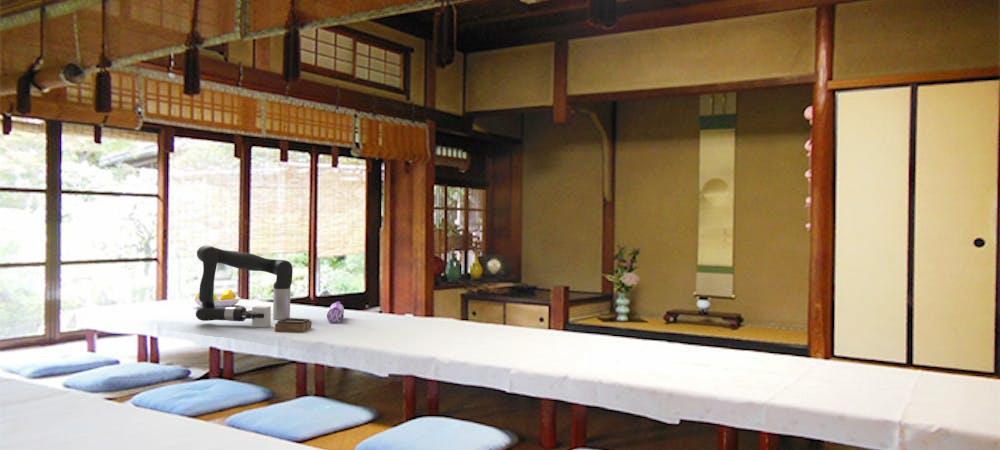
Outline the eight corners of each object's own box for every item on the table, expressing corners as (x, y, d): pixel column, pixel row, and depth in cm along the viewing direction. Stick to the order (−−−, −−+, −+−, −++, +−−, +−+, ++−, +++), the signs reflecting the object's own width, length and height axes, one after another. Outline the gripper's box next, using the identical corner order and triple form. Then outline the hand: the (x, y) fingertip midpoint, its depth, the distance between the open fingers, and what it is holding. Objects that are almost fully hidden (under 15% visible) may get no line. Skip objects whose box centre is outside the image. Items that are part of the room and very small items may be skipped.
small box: (270, 325, 376) (271, 306, 376) (266, 327, 371) (266, 307, 371) (256, 325, 377) (256, 305, 377) (251, 326, 372) (252, 306, 371)
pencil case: (343, 323, 390) (344, 306, 390) (326, 323, 388) (326, 306, 388) (344, 317, 412) (344, 301, 411) (327, 317, 410) (327, 301, 409)
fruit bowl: (208, 303, 456) (208, 286, 455) (247, 305, 452) (247, 287, 452) (182, 309, 428) (183, 291, 428) (224, 311, 424) (225, 292, 424)
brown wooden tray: (285, 327, 373) (285, 317, 373) (311, 328, 372) (311, 318, 372) (275, 331, 359) (275, 321, 359) (301, 332, 358) (302, 322, 358)
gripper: (229, 308, 368) (260, 309, 367) (241, 305, 382) (271, 306, 381) (229, 323, 368) (260, 324, 367) (241, 319, 382) (271, 320, 381)
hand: (266, 315), depth 374 cm, fingers closed on small box, 5 cm apart
